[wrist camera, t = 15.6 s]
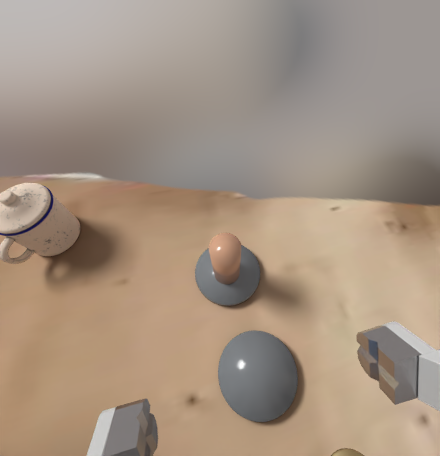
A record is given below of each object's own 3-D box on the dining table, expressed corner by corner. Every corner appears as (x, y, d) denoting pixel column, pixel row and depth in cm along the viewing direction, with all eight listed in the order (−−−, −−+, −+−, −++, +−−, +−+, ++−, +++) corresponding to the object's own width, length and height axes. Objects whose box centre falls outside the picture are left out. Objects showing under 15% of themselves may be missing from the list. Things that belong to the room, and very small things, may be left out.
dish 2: (230, 431, 30) (230, 433, 29) (210, 343, 35) (210, 342, 34) (308, 405, 31) (311, 407, 30) (278, 322, 35) (279, 321, 35)
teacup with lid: (50, 208, 47) (-1, 165, 37) (92, 218, 46) (51, 176, 36) (8, 267, 42) (-64, 235, 32) (54, 280, 40) (-6, 251, 30)
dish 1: (204, 314, 37) (203, 312, 36) (190, 253, 41) (189, 251, 40) (268, 295, 37) (269, 293, 36) (248, 238, 42) (248, 235, 41)
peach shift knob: (217, 287, 37) (213, 266, 29) (211, 263, 39) (205, 237, 31) (243, 280, 38) (245, 257, 30) (235, 256, 40) (235, 229, 32)
